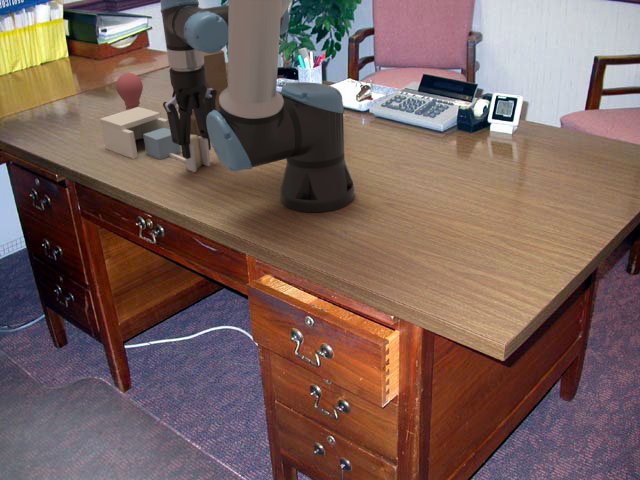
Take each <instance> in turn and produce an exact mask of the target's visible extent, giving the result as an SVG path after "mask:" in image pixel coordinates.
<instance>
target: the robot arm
mask: <svg viewBox="0 0 640 480" xmlns="http://www.w3.org/2000/svg"><path fill="white" fill-rule="evenodd" d="M292 1H293V0H228V4H226V5H221V6H220V5H219V6H213V7H212V6H211V7H206V8H205V7H204V8H202V7H200V3H199V0H160V13H161V18H162V24H163V25H162V26H163V31H164V32H163V33H164V40H165V47H166V55H167V63H168V66H169V67H170V69H169V70H168V72H169V78H170V79H169V80H170V84H171V87H172V90H173V91H172V95H171V97H172V98H170V100H169V101H168V102H167V101H164V102H163V103H162V107H163V108H164V110H165V111H166V116H167V120H168V122H169V129H170V132H171V137H172V141H173V143H175V144H178V145H180V148H181V155H182V156H181V157H183V158H185V160H186V163H185V166H186V167H185V168H186V170H187V171H190V172H193V173H195V172H197V171H198V168H196V161H195V153H194V144H191V143H190V135H191V133H190V131H191V115H192V111H193V110H194V114H195V117H196V121H197V125H198V128H199V132H200V135H201V136H198V140H199V148H200V155H201V162H202V166H203V165H204V166H206V167H210V166H211V158H210V157H211V156H210V151H211V148H213V151H214V153H215V155H216V156H217V158H218V160H219V161H220V162H221V165H222V166H224V167H225V168H226V169H227V170H229V171H231V172H240V171H243V170H252V169H253V168H256V167H260V166H263V165H267V164H268V165H269V164H272V163H275V162H278V161H284V160H286V166H285V169H284V173H283V176H282V180H281V184H280V189H279V193H280V201H281V203H282V204H283V205H284V206H285V207H287V208H290V209H291V210H293V211H298V212H303V213H304V212H305V213H322V212H323V213H325V212H331V211H335V210H338V209H341V208H344V207H345V206H347V205H349V204H350V203H351V202H352V201H353V200H354V198H355V185H354V181H353V179H352V176H351V173H350V170H349V168H348V166H347V163H346V158H345V130H344V128H345V127H344V113H345V110H344V102H343V95H342V93H341V92H340V90H339V89H337V88H336V87H334V86H331V85H328V84H324V83H318V82H306V81H305V82H302V81H301V82H299V81H298V82H291V83H287V84H285V85H282V87H281V91H280V93H279V91H278V90H277V83H278V69H279V68H278V65H279V50H280V37H281V36H282V35H284V34H286V32H287V31H288V30H289V23H290V12H289V9H288V8H289V6H290V5H291V3H292ZM226 46H227V83H228V87H227V88H226V89H225V90H223V91H222V92H221V94H220V96H219V110H216V106H215V99H216V95H217V91H216V90H214V89H211V88H207V87H206V85H205V83H206V75H205V67H204V66H203V64H204V55H203V52H205V53H216V52H218V51H220V50H223V48H225V47H226ZM203 99H204V101H203Z"/></svg>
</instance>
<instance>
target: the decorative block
mask: <svg viewBox="0 0 640 480" xmlns="http://www.w3.org/2000/svg"><path fill="white" fill-rule="evenodd" d="M203 55H204V64H203V66H204V67H205V75H206V83H205V85H206V87H207V88H211V89H214V90H216V91H217V95H216V99H215V106H216V110H219V96H220V94H221V92H222V91H223V90H225V89H226V88H227V87H228V73H227V67H226V65H227V64H226V57H225V56H226V55H225V51H224V50H223V49H221V50H220V51H218V52H216V53H205V52H203ZM203 101H204V99H203ZM190 135H197V136H198V137H199V136H201V137H202V135H200V132H199V128H198V125H197V121H196V117H195V114H194V110H193V111H192V115H191V131H190Z"/></svg>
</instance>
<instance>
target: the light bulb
mask: <svg viewBox="0 0 640 480" xmlns="http://www.w3.org/2000/svg"><path fill="white" fill-rule="evenodd" d="M115 89H116V91H117V94H118V96H119V97H120V98H121V100H123V102H124V105H125V111H126V110H130V109H133V108H136V107H140V104H141V103H140V99H141V96H142V93H143V90H144V87H143V81H142V80H141V78H140V77H139V76H138V75H136V74H134V73H131V72H129V73H128V72H127V73H123V74H121V75H120V76H119V77H118V78H117V80H116V83H115Z"/></svg>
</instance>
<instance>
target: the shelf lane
mask: <svg viewBox="0 0 640 480" xmlns="http://www.w3.org/2000/svg"><path fill="white" fill-rule="evenodd" d="M99 122H100V126H101V133H102V137H103V143H104V148H105V149H106V150H108V151H111V152H114V153H116V154H119V155H122V156H124V157H127V158H130V159H133V160H134V159H138V157H139V156H138V150H137V145H136V141H137V140H140V139H144V137H143V134H145V133H149V132H152V131H155V130H158V129H161V128H167V129H169V130H170V126H169V121H168V118H167V119H166V118H163V117H161V113H160V112H158V111H156V110H155V111H154V110H151V109H148V108H144V107H136V108H133V109H130V110H126V109H125V110H122V111H120V112H118V113H114V114H111V115H107V116H104V117H102V118H101V117H100V119H99Z"/></svg>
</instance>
